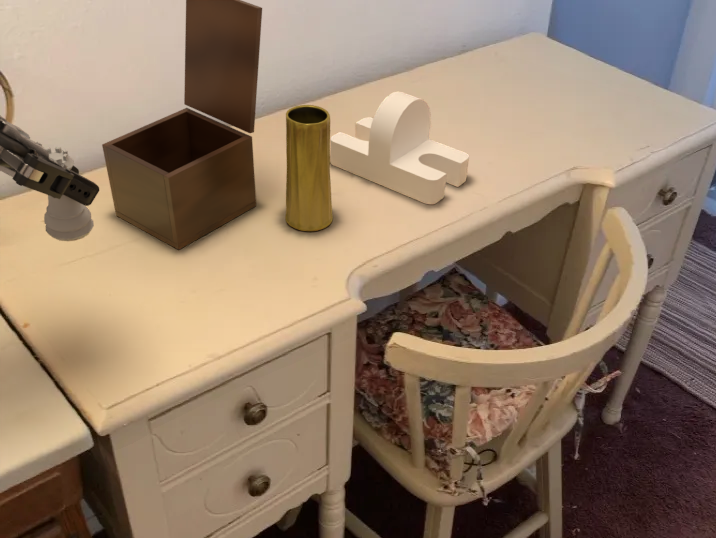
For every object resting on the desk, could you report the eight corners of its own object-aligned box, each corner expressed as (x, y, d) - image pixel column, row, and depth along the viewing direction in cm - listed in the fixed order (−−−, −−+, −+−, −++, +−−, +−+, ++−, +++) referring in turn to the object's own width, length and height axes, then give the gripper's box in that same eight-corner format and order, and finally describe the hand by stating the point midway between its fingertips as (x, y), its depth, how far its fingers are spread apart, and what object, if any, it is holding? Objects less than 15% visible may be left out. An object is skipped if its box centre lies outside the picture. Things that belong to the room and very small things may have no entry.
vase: (322, 236, 105) (322, 130, 95) (277, 225, 106) (273, 120, 97) (339, 212, 109) (341, 108, 100) (296, 202, 111) (294, 99, 101)
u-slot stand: (431, 206, 112) (439, 130, 104) (326, 162, 119) (327, 88, 111) (469, 178, 117) (479, 105, 110) (366, 138, 125) (369, 67, 117)
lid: (257, 8, 94) (262, 7, 94) (186, -18, 99) (191, -18, 99) (249, 133, 102) (254, 132, 103) (184, 104, 107) (188, 103, 107)
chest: (178, 250, 102) (168, 177, 95) (115, 215, 106) (101, 144, 99) (256, 206, 110) (252, 136, 103) (194, 175, 114) (186, 107, 108)
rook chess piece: (88, 213, 82) (72, 138, 77) (100, 237, 79) (84, 160, 74) (41, 223, 81) (21, 146, 75) (51, 247, 78) (32, 170, 72)
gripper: (-32, 84, 60) (143, 184, 74) (-106, 21, 67) (67, 124, 81) (-84, 173, 61) (99, 255, 75) (-151, 102, 68) (28, 189, 82)
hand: (82, 186), depth 78 cm, fingers closed on rook chess piece, 3 cm apart
